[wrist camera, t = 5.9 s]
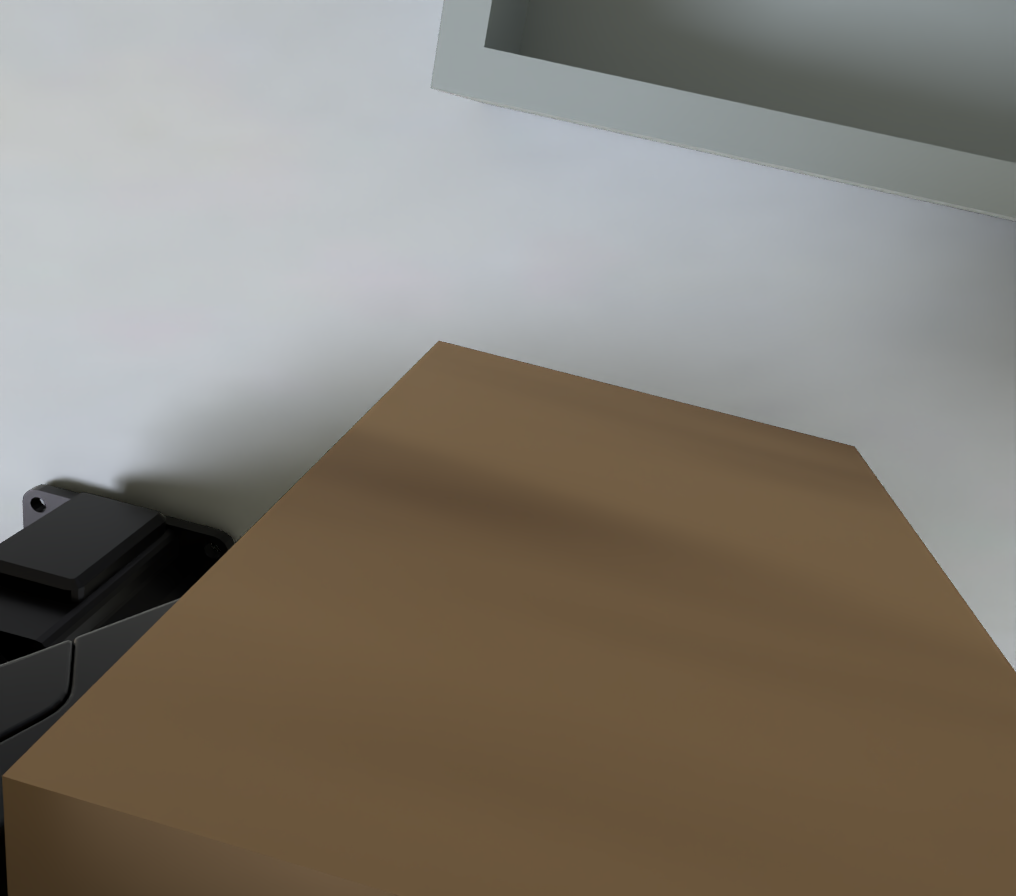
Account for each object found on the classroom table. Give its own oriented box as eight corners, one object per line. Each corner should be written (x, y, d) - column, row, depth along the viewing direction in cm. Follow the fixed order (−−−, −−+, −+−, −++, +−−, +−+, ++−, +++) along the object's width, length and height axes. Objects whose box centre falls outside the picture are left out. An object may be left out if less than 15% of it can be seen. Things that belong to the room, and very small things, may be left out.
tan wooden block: (717, 767, 11) (834, 1653, 5) (377, 671, 11) (31, 1374, 5) (854, 446, 9) (1389, 1194, 3) (438, 340, 9) (2, 776, 3)
